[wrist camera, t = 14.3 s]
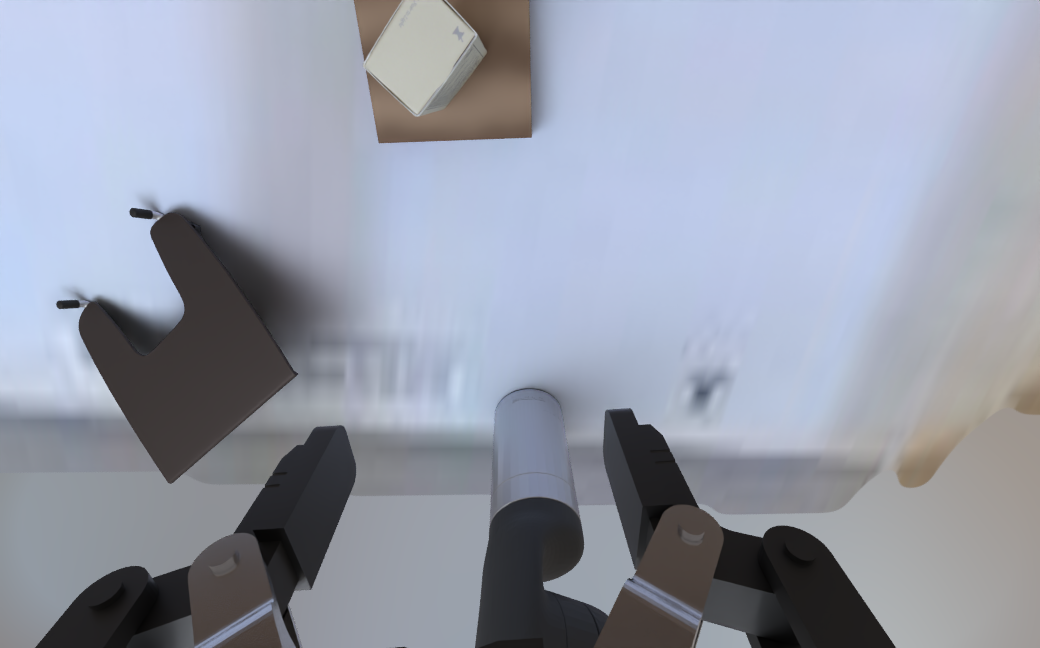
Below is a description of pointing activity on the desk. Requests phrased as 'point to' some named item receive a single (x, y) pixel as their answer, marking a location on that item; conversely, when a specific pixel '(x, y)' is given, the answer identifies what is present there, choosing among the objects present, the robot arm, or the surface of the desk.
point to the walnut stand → (485, 95)
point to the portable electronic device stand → (188, 355)
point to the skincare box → (425, 55)
